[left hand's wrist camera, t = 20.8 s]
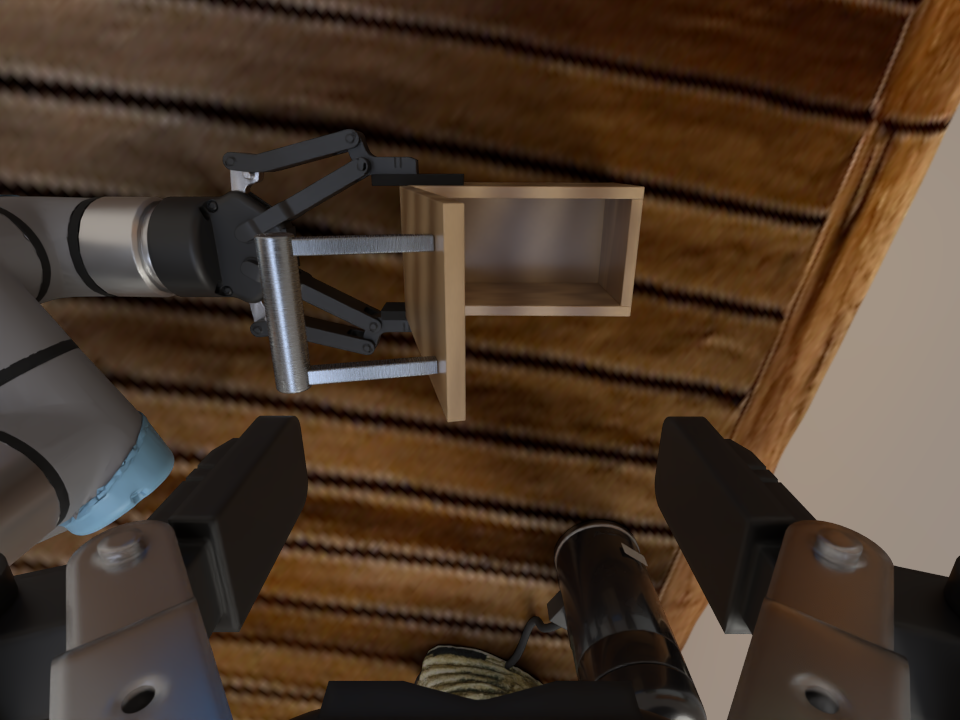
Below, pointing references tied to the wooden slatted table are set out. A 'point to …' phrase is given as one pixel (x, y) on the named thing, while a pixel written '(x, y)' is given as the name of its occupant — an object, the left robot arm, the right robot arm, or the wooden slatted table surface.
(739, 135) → the wooden slatted table surface
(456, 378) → the lid
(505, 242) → the chest
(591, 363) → the wooden slatted table surface
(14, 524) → the right robot arm
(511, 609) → the wooden slatted table surface
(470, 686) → the fossil
